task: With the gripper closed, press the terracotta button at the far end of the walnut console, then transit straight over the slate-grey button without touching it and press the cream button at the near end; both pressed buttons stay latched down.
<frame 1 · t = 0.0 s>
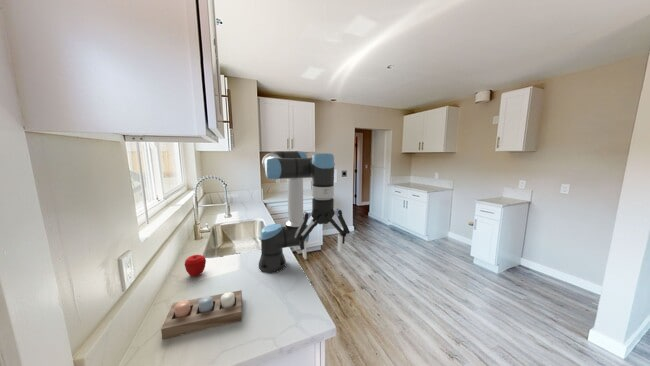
hand: (322, 254, 82), 28 cm above the counter, fingers open, 13 cm apart
button terracotta: (182, 310, 86), point 5 cm above the counter, slide at 0.0 cm
button cream: (228, 301, 91), point 5 cm above the counter, slide at 0.0 cm
button slate: (206, 306, 88), point 4 cm above the counter, slide at 0.0 cm
console: (206, 316, 89), on the counter
apple: (196, 274, 118), on the counter
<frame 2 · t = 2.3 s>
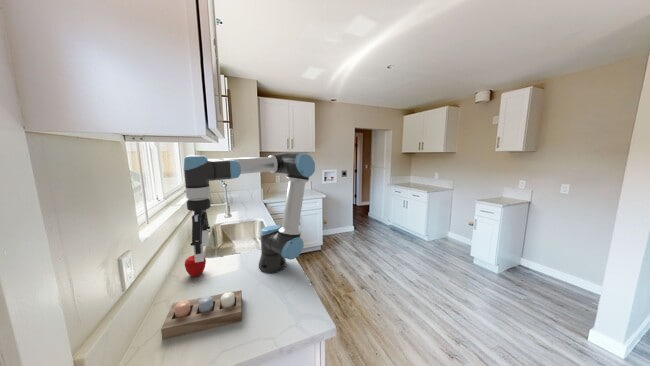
hand: (202, 253, 85), 27 cm above the counter, fingers open, 13 cm apart
nothing on the counter moved.
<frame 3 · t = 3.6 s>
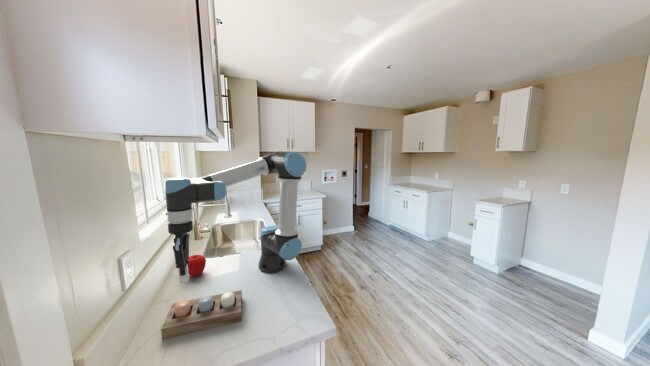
hand: (184, 281, 84), 17 cm above the counter, fingers closed
nothing on the counter moved.
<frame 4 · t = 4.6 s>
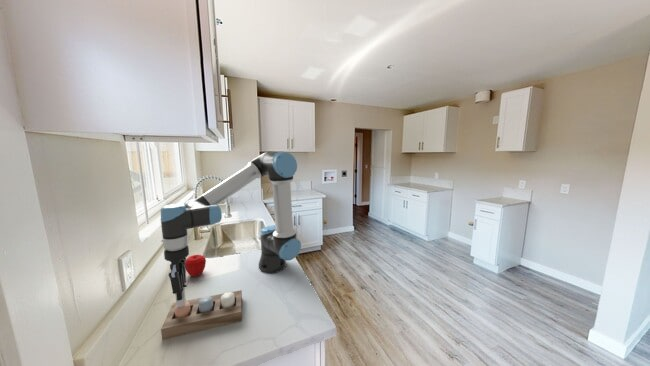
hand: (181, 305, 85), 7 cm above the counter, fingers closed
button terracotta: (182, 311, 86), point 4 cm above the counter, slide at 0.4 cm, touching gripper
everything else where it was.
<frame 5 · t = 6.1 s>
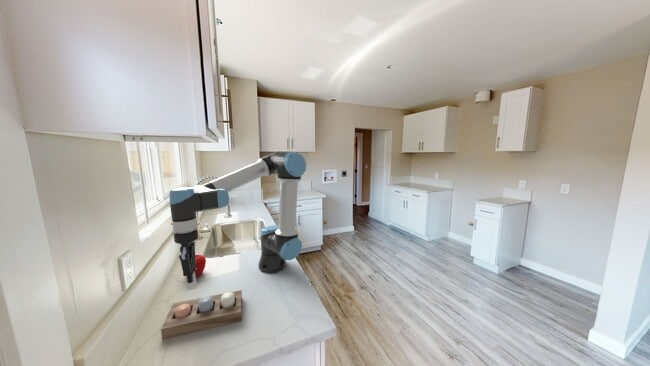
hand: (191, 288, 86), 13 cm above the counter, fingers closed
button terracotta: (183, 314, 86), point 3 cm above the counter, slide at 1.4 cm
everything else where it was.
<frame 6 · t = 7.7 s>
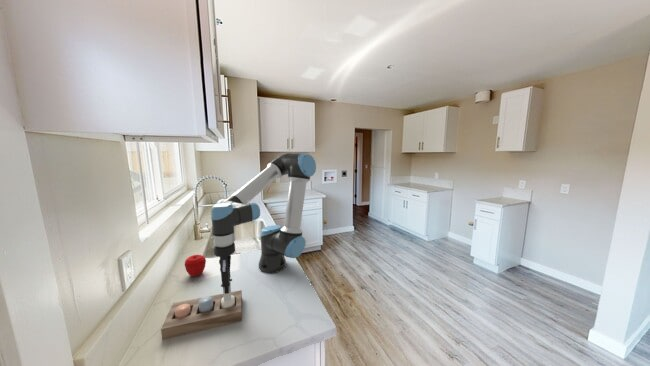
hand: (227, 298, 91), 6 cm above the counter, fingers closed
button cream: (228, 304, 91), point 3 cm above the counter, slide at 1.3 cm, touching gripper
everything else where it was.
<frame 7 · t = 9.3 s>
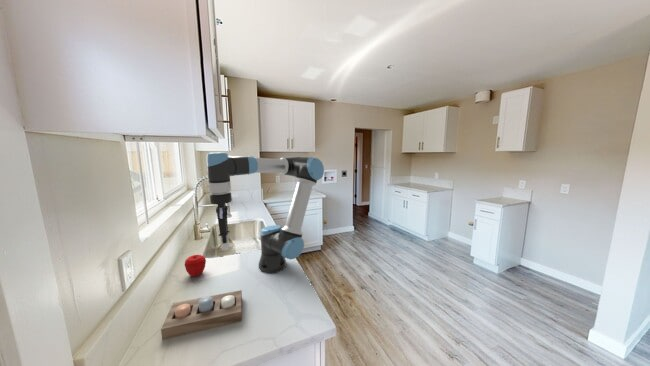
hand: (225, 249, 91), 26 cm above the counter, fingers closed
button cream: (228, 304, 91), point 3 cm above the counter, slide at 1.4 cm
everything else where it was.
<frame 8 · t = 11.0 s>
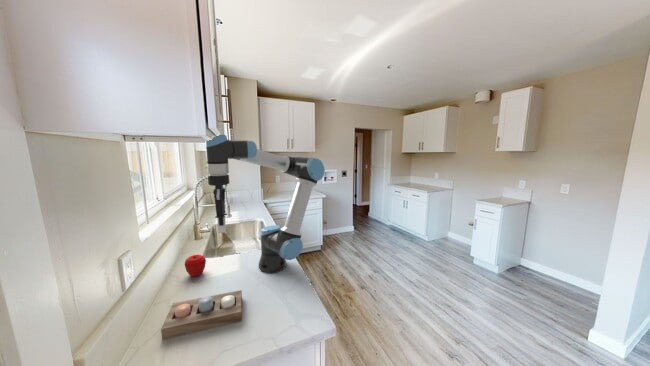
hand: (222, 232, 91), 32 cm above the counter, fingers closed
nothing on the counter moved.
at the end: button terracotta slide at 1.4 cm; button cream slide at 1.4 cm; button slate slide at 0.0 cm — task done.
